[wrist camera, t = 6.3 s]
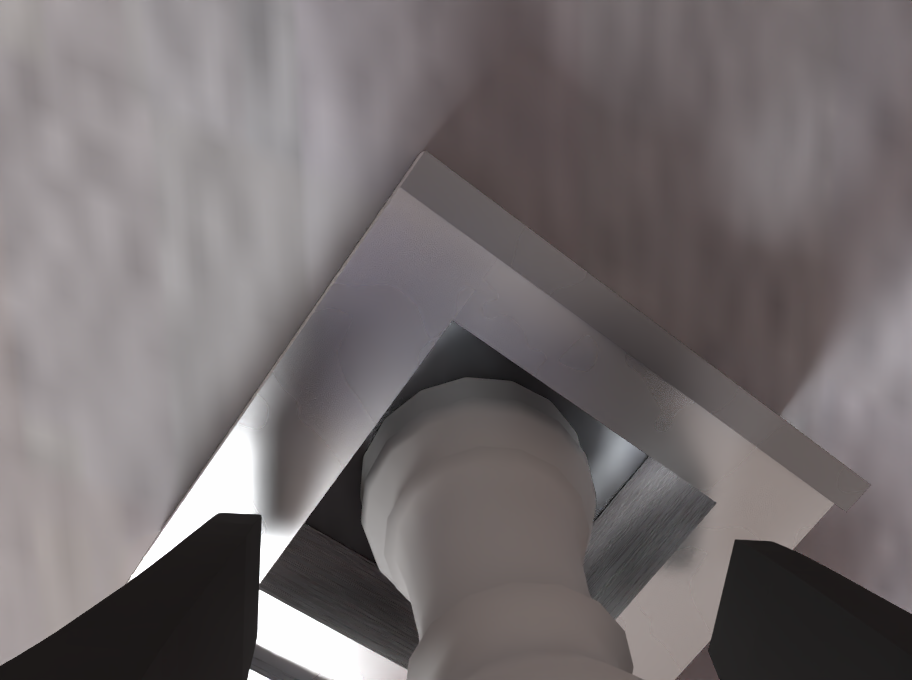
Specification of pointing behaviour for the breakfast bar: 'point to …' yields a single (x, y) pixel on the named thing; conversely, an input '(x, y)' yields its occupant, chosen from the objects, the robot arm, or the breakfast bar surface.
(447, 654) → the rook chess piece
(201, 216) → the breakfast bar surface
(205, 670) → the robot arm
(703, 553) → the block
